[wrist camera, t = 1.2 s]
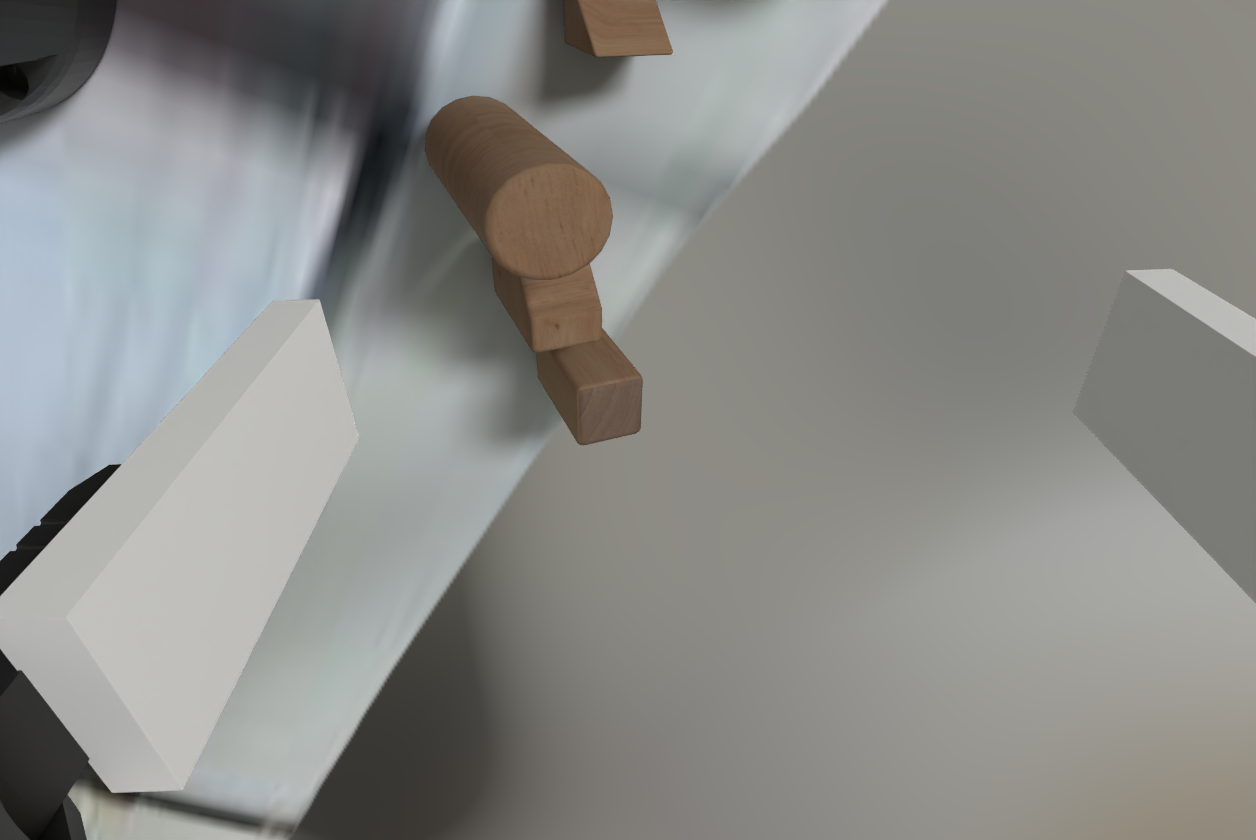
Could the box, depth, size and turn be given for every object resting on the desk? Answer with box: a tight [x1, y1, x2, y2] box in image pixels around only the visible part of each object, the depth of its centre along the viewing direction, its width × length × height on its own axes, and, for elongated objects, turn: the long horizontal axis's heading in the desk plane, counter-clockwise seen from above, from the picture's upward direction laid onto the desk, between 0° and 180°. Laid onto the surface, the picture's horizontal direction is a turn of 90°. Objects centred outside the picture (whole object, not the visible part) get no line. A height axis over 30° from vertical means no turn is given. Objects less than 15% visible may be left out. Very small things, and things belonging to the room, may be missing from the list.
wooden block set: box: [425, 0, 673, 445], centre depth 29 cm, size 18×9×10 cm, turn 178°
